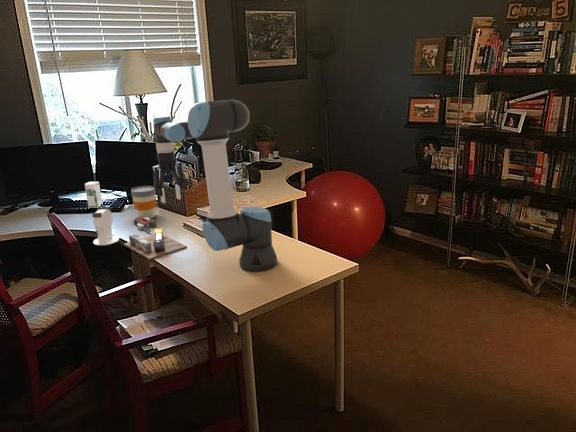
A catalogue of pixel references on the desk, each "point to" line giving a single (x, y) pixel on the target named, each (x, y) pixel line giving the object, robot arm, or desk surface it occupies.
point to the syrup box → (93, 194)
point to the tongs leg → (158, 241)
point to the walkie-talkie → (144, 223)
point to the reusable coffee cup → (144, 201)
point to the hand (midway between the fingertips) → (171, 200)
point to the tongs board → (152, 246)
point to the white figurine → (104, 227)
